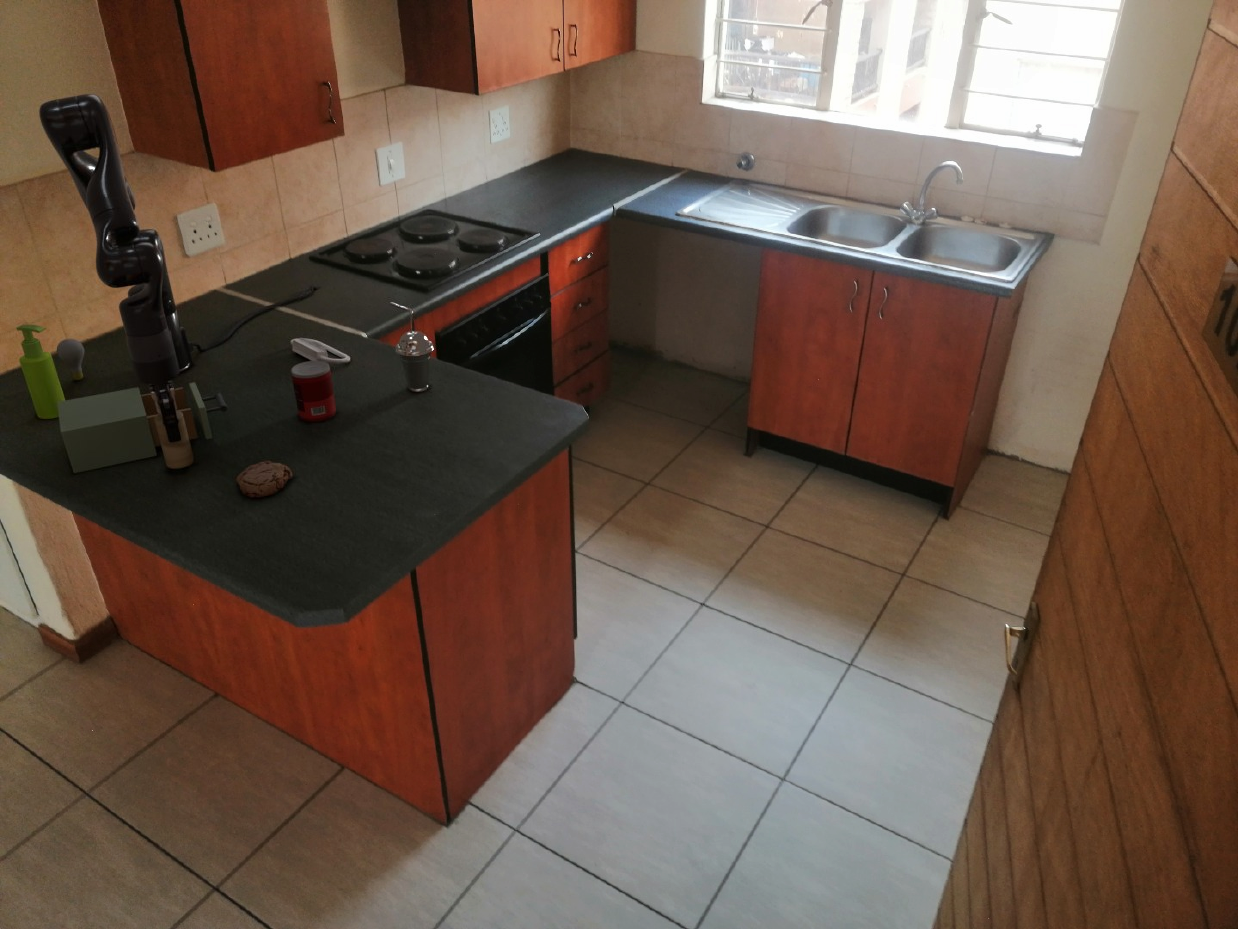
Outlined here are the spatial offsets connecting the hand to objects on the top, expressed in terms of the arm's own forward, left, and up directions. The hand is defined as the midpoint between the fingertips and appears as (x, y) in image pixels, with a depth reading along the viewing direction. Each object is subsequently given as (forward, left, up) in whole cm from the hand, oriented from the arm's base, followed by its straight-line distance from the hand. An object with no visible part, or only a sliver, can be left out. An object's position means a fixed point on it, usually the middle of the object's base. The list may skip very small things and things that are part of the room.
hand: (173, 434), depth 179 cm
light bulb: (-13, -55, -7) cm, 57 cm away
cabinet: (+3, -18, -7) cm, 20 cm away
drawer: (-9, -11, -6) cm, 16 cm away
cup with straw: (-52, +14, -7) cm, 55 cm away
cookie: (-4, +19, -7) cm, 21 cm away
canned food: (-30, +5, -7) cm, 32 cm away
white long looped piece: (-53, -19, -7) cm, 57 cm away
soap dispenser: (0, -43, -7) cm, 44 cm away
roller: (0, 0, -6) cm, 6 cm away
